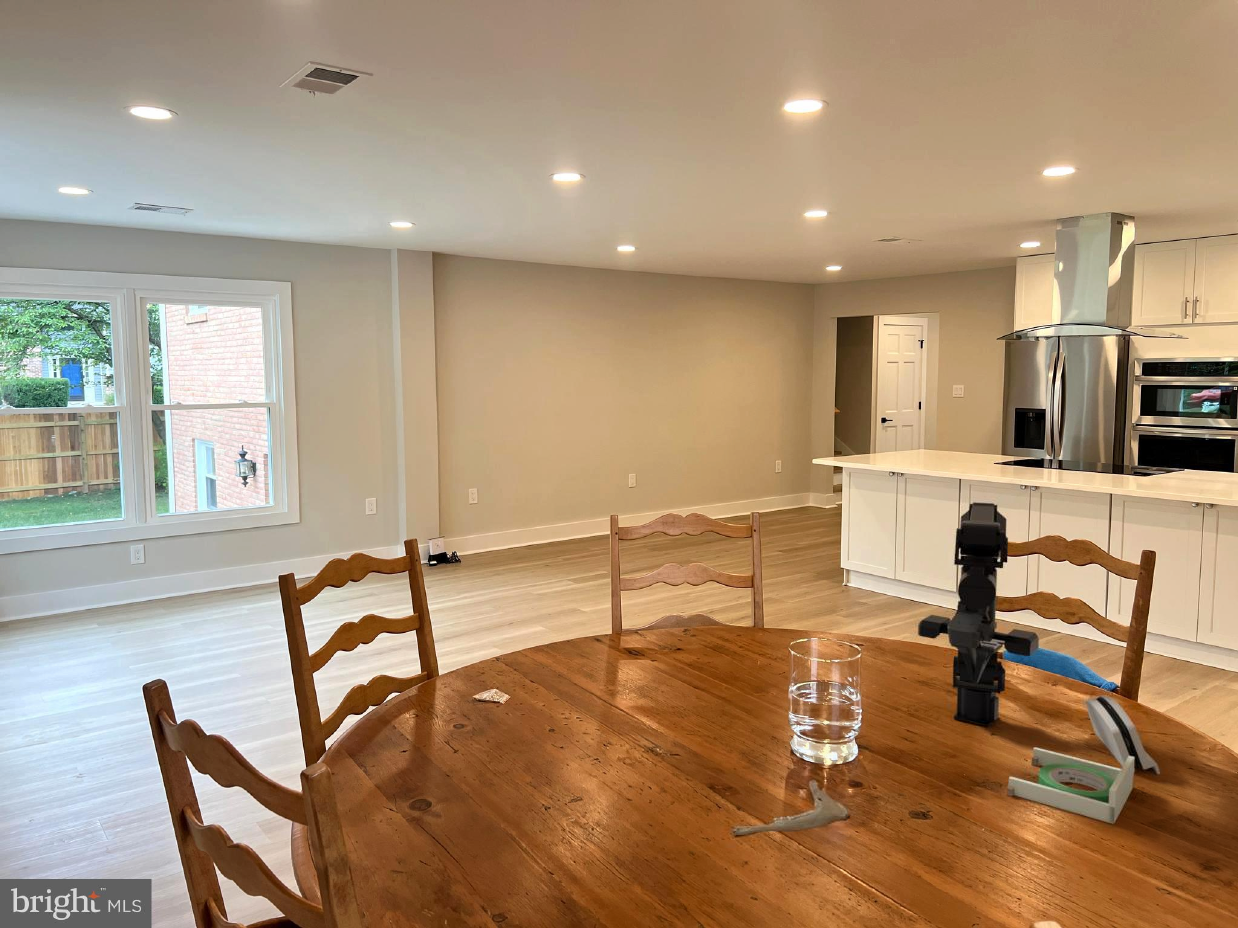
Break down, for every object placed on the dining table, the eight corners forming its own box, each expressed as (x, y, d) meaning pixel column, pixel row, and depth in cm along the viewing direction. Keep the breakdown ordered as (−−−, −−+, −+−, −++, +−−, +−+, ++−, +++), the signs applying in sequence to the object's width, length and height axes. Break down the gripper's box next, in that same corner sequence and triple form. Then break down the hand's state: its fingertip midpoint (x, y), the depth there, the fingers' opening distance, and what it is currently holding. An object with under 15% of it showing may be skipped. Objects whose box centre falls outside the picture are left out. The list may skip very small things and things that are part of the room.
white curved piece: (1161, 774, 139) (1141, 717, 139) (1130, 781, 140) (1111, 725, 140) (1124, 733, 156) (1106, 682, 155) (1097, 739, 157) (1079, 689, 157)
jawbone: (862, 814, 130) (863, 801, 129) (780, 868, 116) (781, 854, 116) (812, 788, 136) (813, 776, 136) (729, 837, 123) (730, 824, 122)
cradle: (1006, 795, 133) (1007, 764, 133) (1035, 759, 145) (1036, 731, 145) (1112, 826, 124) (1114, 793, 123) (1133, 785, 136) (1135, 755, 135)
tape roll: (1111, 785, 137) (1112, 769, 136) (1124, 817, 126) (1124, 800, 126) (1035, 774, 141) (1035, 758, 141) (1041, 805, 131) (1041, 788, 130)
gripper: (907, 595, 147) (904, 683, 149) (1022, 614, 135) (1018, 708, 137) (930, 583, 156) (928, 666, 157) (1041, 599, 144) (1037, 689, 145)
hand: (975, 682), depth 149 cm, fingers closed
